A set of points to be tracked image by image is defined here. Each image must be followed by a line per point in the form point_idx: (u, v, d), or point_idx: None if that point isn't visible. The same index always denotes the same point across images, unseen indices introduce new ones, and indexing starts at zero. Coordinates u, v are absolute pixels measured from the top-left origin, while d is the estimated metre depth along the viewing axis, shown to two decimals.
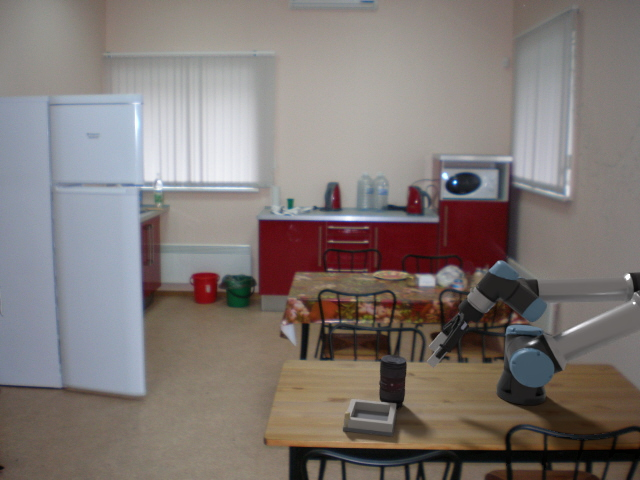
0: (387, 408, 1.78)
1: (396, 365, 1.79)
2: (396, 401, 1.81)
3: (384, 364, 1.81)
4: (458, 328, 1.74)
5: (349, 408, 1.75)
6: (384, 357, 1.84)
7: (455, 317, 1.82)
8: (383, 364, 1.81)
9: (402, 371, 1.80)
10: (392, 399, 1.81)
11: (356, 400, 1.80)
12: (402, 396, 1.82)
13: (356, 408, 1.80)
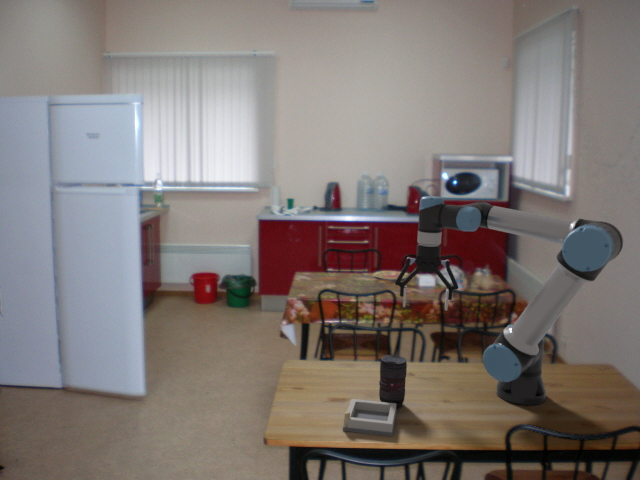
0: (387, 408, 1.78)
1: (396, 365, 1.79)
2: (396, 401, 1.81)
3: (384, 364, 1.81)
4: (405, 264, 1.96)
5: (349, 408, 1.75)
6: (384, 357, 1.84)
7: None
8: (383, 364, 1.81)
9: (402, 371, 1.80)
10: (392, 399, 1.81)
11: (356, 400, 1.80)
12: (402, 396, 1.82)
13: (356, 408, 1.80)
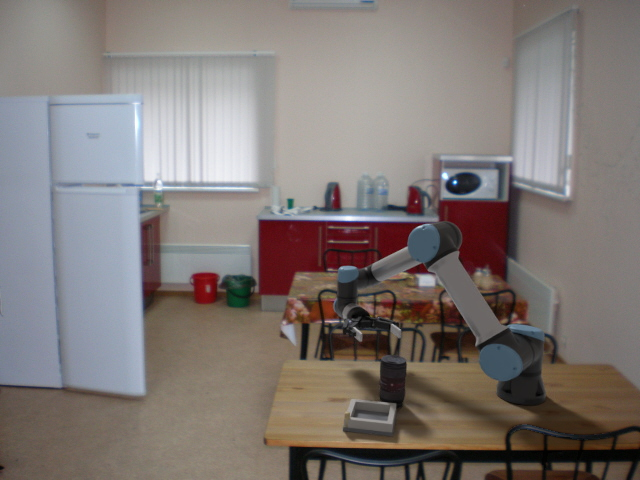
0: (387, 408, 1.78)
1: (396, 365, 1.79)
2: (396, 401, 1.81)
3: (384, 364, 1.81)
4: None
5: (349, 408, 1.75)
6: (384, 357, 1.84)
7: (367, 327, 2.05)
8: (383, 364, 1.81)
9: (402, 371, 1.80)
10: (392, 399, 1.81)
11: (356, 400, 1.80)
12: (402, 396, 1.82)
13: (356, 408, 1.80)
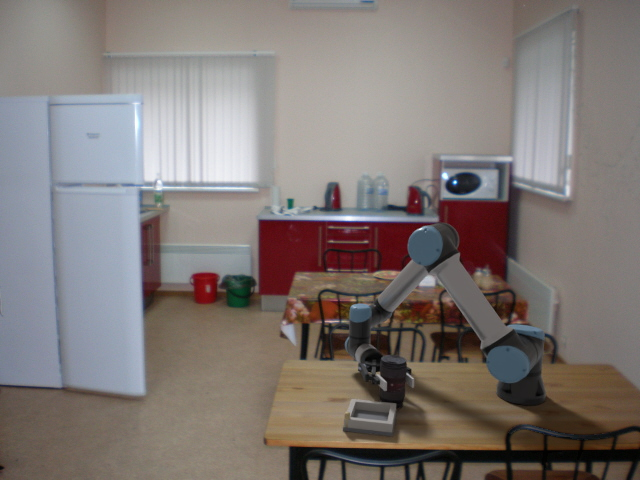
0: (387, 408, 1.78)
1: (396, 365, 1.79)
2: (396, 401, 1.81)
3: (384, 364, 1.81)
4: (361, 371, 1.91)
5: (349, 408, 1.75)
6: (384, 357, 1.84)
7: None
8: (383, 364, 1.81)
9: (402, 371, 1.80)
10: (392, 399, 1.81)
11: (356, 400, 1.80)
12: (402, 396, 1.82)
13: (356, 408, 1.80)
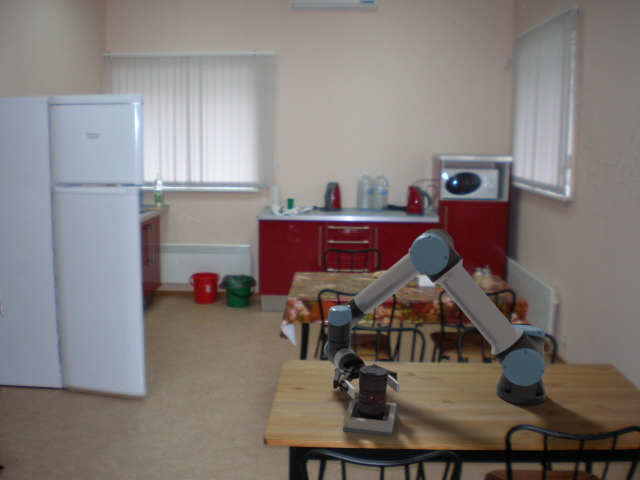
0: (387, 408, 1.78)
1: (376, 377, 1.68)
2: (376, 415, 1.70)
3: (363, 375, 1.69)
4: None
5: (349, 408, 1.75)
6: (363, 368, 1.73)
7: None
8: (362, 376, 1.69)
9: (382, 383, 1.69)
10: (372, 413, 1.69)
11: (356, 400, 1.80)
12: (382, 409, 1.71)
13: (356, 408, 1.80)
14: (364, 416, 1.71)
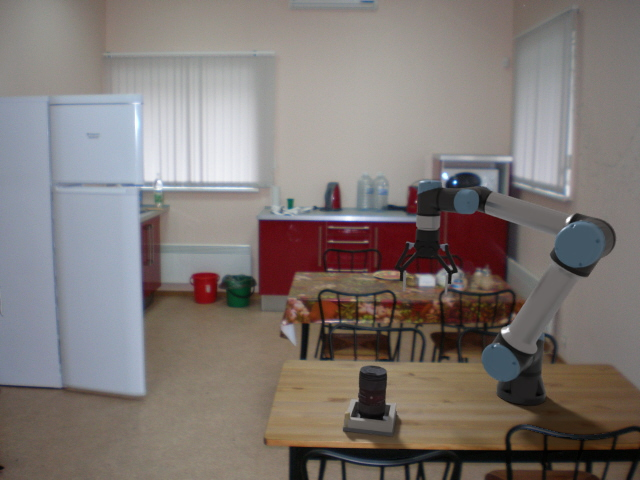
0: (387, 408, 1.78)
1: (376, 377, 1.68)
2: (376, 415, 1.70)
3: (363, 375, 1.69)
4: None
5: (349, 408, 1.75)
6: (363, 368, 1.73)
7: None
8: (362, 376, 1.69)
9: (382, 383, 1.69)
10: (372, 413, 1.69)
11: (356, 400, 1.80)
12: (382, 409, 1.71)
13: (356, 408, 1.80)
14: (364, 416, 1.71)
